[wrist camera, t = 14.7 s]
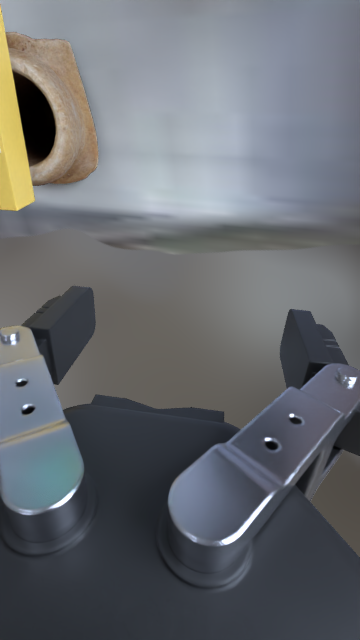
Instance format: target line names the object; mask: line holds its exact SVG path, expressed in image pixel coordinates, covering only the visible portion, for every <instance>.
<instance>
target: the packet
mask: <svg viewBox="0 0 360 640" xmlns="http://www.w3.org/2000/svg"><path fill="white" fill-rule="evenodd" d="M34 201H35V198H34V192H33V186H32V181H31V175H30V169H29V164H28V158H27V152H26V147H25V141H24V135H23V130H22V124H21V119H20V113H19V107H18V102H17V96H16V90H15V85H14V79H13V73H12V68H11V62H10V56H9V51H8V45H7V40H6V34H5V28H4V23H3V17H2V11H1V6H0V210H11V211H18V210H19V209H21V208H23V207H25V206H27V205H29V204H30V203H32V202H34Z"/></svg>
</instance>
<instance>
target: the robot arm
mask: <svg viewBox="0 0 360 640" xmlns="http://www.w3.org/2000/svg"><path fill="white" fill-rule="evenodd" d="M95 323H96V322H95V309H94V297H93V291H92V289H91V288H90V287H80V286H72V287H71V288H69V290H67V291H66V292H65V293H64V294H63V295H62V296H58V297H55V298H53V299H51V300H49V301H48V302H46V303H45V304H44V305H43V306H42V308H40V309H39V310H37V312H36V313H34V314H33V315H32V316H31V317H30V318H29V319H27V320H26V321H25V322H24V323H23V324H22V325H21V326H8V327H3V328H0V640H360V557H359V556H358V555H357V554H356V553H355V552H354V551H353V549H352V548H351V547H350V546H349V545H348V544H347V543H346V542H345V540H343V538H342V537H341V536H340V535H339V534H338V533H337V531H336V530H335V529H334V528H333V527H332V526H331V525H330V524H329V522H327V520H326V519H325V518H324V517H323V516H322V515H321V514H320V512H319V511H318V510H317V509H316V508H315V507H314V506H313V504H312V503H311V502H310V501H311V499H312V497H313V495H314V494H315V492H316V490H317V488H318V487H319V485H320V484H321V482H322V481H323V479H324V478H325V477H326V475H327V474H328V472H329V471H330V469H331V468H332V467H333V465H334V463H335V462H336V461H337V459H338V458H339V456H340V455H341V454H342V452H343V450H346V451H348V452H351V453H354V454H356V455H358V456H360V371H359V370H358V369H356V368H354V367H351V366H349V365H348V363H347V361H346V359H345V357H344V355H343V353H342V351H341V349H340V348H339V345H338V343H337V342H336V339H335V337H334V336H333V334H332V332H331V331H330V330H328V329H327V328H326V327H325V326H323V325H320V324H316V323H315V320H314V318H313V316H312V314H311V312H310V311H303V310H294V309H290V310H289V312H288V316H287V320H286V325H285V328H284V333H283V337H282V341H281V346H280V360H281V364H282V369H283V373H284V378H285V382H286V387H287V389H286V390H285V391H284V392H283V393H282V394H281V395H280V396H279V397H277V398H276V399H275V400H274V401H273V402H272V403H271V404H270V405H268V406H267V407H266V408H265V409H264V410H263V411H262V412H260V413H259V414H258V415H257V416H256V417H255V418H254V419H253V420H251V421H250V422H249V423H248V424H247V425H246V426H245V427H243V428H242V429H239V428H237V427H235V426H233V425H231V424H229V423H226V422H224V412H222V411H214V410H207V409H200V408H192V407H191V408H174V409H173V408H172V409H155V408H152V407H149V406H146V405H143V404H141V403H137V402H135V401H132V400H129V399H125V398H117V397H110V396H103V395H95V397H94V399H93V401H92V403H91V404H83V405H77V406H73V407H70V408H67V409H64V410H62V407H61V404H60V401H59V398H58V396H57V393H56V390H55V387H54V384H56V385H58V384H59V383H60V381H61V380H62V379H63V377H64V376H65V374H66V373H67V372H68V370H69V368H70V367H71V365H72V364H73V363H74V361H75V360H76V359H77V357H78V356H79V354H80V353H81V351H82V350H83V348H84V347H85V346H86V344H87V343H88V341H89V340H90V338H91V337H92V335H93V333H94V330H95Z"/></svg>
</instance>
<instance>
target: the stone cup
mask: <svg viewBox="0 0 360 640" xmlns="http://www.w3.org/2000/svg"><path fill="white" fill-rule="evenodd" d="M5 34H6V40H7V45H8V51H9V56H10V62H11V68H12V73H13V79H14V85H15V90H16V96H17V102H18V107H19V113H20V119H21V124H22V130H23V135H24V141H25V147H26V152H27V158H28V164H29V169H30V175H31V181H32V186H39V185H45V184H48V183H52V184H67V183H73V182H77V181H80V180H83V179H85V178H87V177H88V176H89V174H90V173H92V172H93V171H94V170H95V169H96V168H97V165H98V143H97V136H96V130H95V126H94V122H93V118H92V115H91V111H90V108H89V104H88V101H87V97H86V94H85V90H84V87H83V84H82V81H81V77H80V74H79V71H78V67H77V64H76V60H75V57H74V54H73V51H72V48H71V46H70V43H69V42H68V41H66V40H61V39H32V38H30V37H28V36H26V35H23V34H19V33H17V32H5Z"/></svg>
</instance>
